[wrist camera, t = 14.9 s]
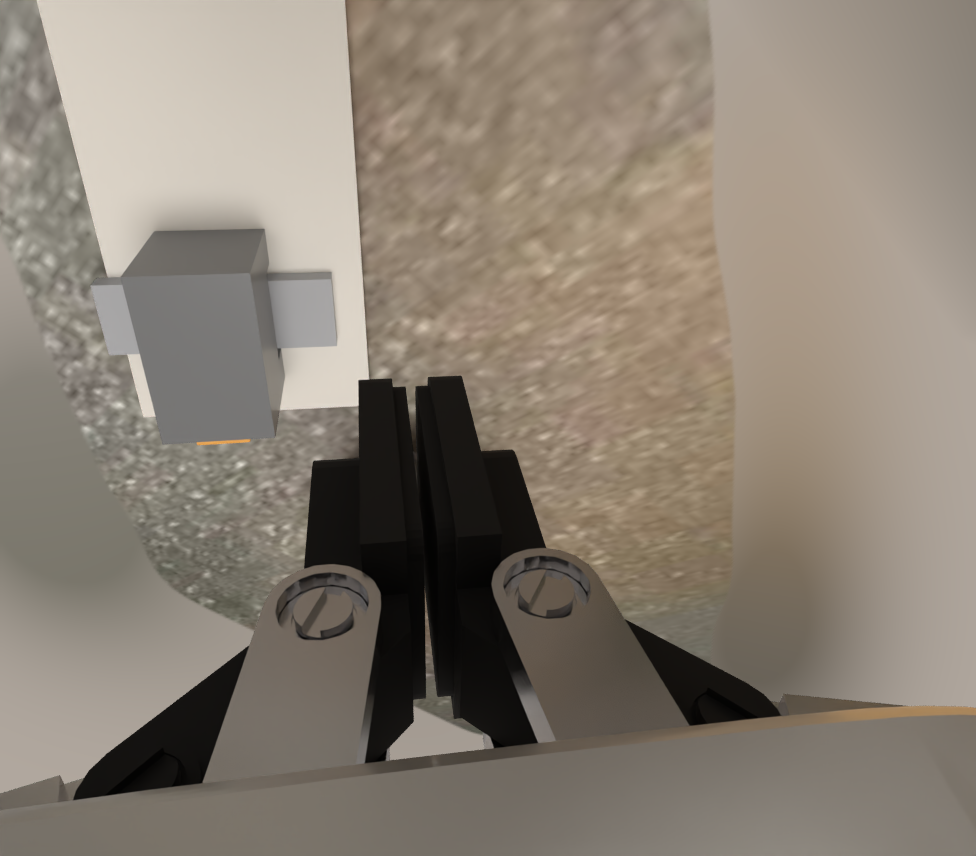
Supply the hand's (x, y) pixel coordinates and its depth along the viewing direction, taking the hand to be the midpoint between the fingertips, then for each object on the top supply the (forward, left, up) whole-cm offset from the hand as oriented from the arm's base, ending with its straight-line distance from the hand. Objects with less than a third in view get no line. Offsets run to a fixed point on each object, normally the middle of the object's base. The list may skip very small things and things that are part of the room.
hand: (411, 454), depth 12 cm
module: (+8, +8, -26) cm, 28 cm away
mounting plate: (+7, +3, -27) cm, 28 cm away
